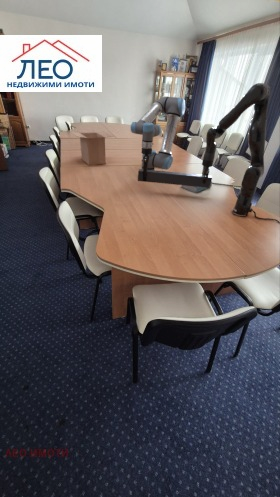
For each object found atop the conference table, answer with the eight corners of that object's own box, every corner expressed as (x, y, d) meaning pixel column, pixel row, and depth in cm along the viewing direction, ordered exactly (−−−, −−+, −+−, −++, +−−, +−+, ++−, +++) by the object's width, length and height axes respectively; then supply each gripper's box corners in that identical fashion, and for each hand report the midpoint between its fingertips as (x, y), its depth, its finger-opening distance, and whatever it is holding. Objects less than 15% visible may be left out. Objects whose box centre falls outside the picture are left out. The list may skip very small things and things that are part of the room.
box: (116, 165, 229) (116, 136, 213) (83, 168, 214) (80, 137, 198) (102, 154, 259) (101, 128, 243) (71, 156, 244) (68, 129, 228)
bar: (137, 180, 170) (138, 170, 166) (138, 178, 174) (139, 168, 170) (209, 187, 167) (212, 177, 162) (208, 185, 171) (211, 175, 166)
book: (195, 181, 203) (197, 176, 200) (211, 187, 194) (212, 181, 191) (181, 187, 190) (182, 181, 187) (196, 193, 181) (197, 187, 178)
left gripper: (151, 151, 150) (148, 184, 164) (153, 145, 164) (150, 176, 179) (140, 150, 150) (138, 183, 165) (143, 144, 165) (141, 175, 179)
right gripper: (215, 161, 151) (209, 186, 161) (212, 156, 163) (206, 179, 173) (204, 161, 152) (199, 185, 162) (202, 155, 163) (197, 178, 173)
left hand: (144, 179), depth 171 cm, fingers closed on bar, 5 cm apart
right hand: (203, 182), depth 167 cm, fingers closed on bar, 5 cm apart
